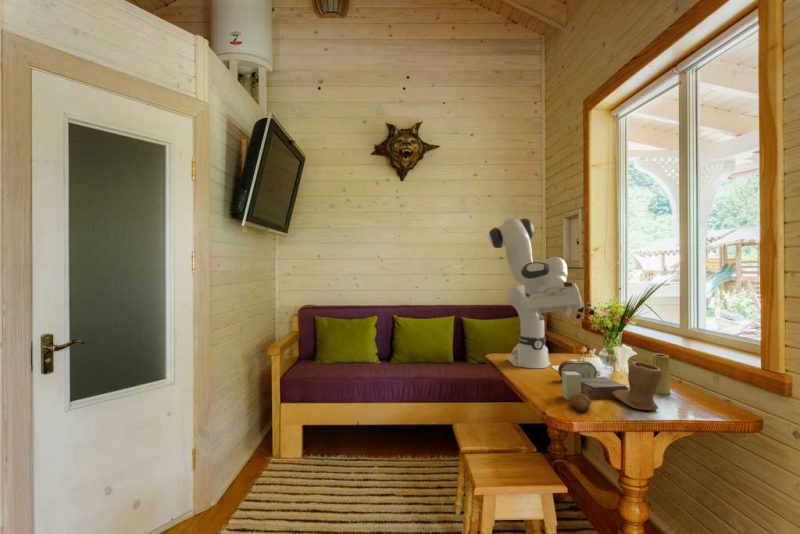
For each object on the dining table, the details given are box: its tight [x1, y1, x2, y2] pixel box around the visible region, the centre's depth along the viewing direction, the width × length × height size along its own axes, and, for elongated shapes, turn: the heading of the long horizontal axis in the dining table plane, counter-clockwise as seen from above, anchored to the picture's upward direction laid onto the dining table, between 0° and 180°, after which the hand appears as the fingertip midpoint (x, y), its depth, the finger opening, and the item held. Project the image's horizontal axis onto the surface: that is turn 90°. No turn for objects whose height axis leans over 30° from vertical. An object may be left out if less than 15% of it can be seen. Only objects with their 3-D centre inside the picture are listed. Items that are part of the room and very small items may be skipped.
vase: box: [652, 353, 671, 396], centre depth 164 cm, size 6×6×14 cm
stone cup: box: [612, 360, 662, 411], centre depth 149 cm, size 15×12×15 cm
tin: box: [557, 360, 598, 379], centre depth 180 cm, size 15×3×8 cm, turn 84°
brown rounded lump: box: [569, 393, 592, 413], centre depth 147 cm, size 14×7×5 cm, turn 160°
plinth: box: [581, 376, 629, 400], centre depth 164 cm, size 14×14×4 cm
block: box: [561, 372, 581, 401], centre depth 158 cm, size 5×5×9 cm
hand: (553, 318), depth 164 cm, fingers open, 8 cm apart
